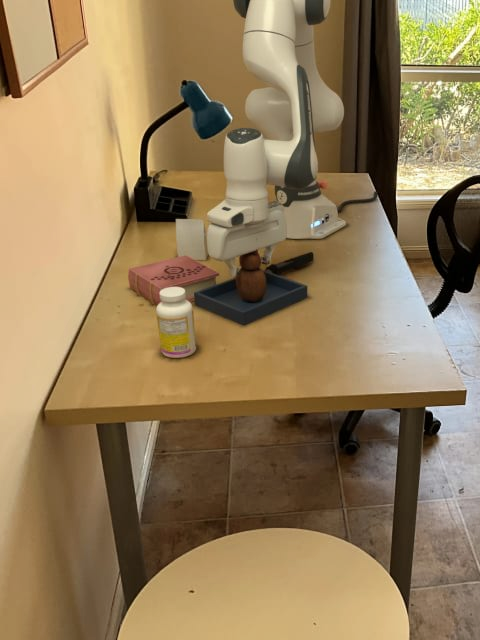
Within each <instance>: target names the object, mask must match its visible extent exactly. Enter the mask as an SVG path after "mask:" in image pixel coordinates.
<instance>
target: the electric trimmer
mask: <svg viewBox="0 0 480 640" xmlns="http://www.w3.org/2000/svg"><path fill="white" fill-rule="evenodd" d="M314 257H315V255H314V252H313V251H309V252H306V253H303V254H300V255H298V256H294V257H291V258H289V259H285V260H283V261H280V262H277V263H270V264H269V265H268V266H266V267H265V269H264V270H265V271H267V272H270V273H273V274H276V275H279V276H281V275H282V274H284V273H287V272H291V271H292V270H299V269H301V268H303V267H305V266H306V265H308V264H311V263H312V262H314V259H315V258H314Z"/></svg>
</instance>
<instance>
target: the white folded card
mask: <svg viewBox="0 0 480 640" xmlns="http://www.w3.org/2000/svg"><path fill="white" fill-rule="evenodd" d="M175 240H176V251H177V257H180V256H184V255H187V256H189V257H191V258H193V259H194V260H196V261H206V260H207V258H208V257H209V254H208V247H207V231H206V225H205V219H203V218H202V219H198V218H195V219H194V218H189V219H188V218H175Z"/></svg>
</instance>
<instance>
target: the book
mask: <svg viewBox="0 0 480 640" xmlns="http://www.w3.org/2000/svg"><path fill="white" fill-rule="evenodd" d="M217 277H220V272H219V271H217V270H215V269H213V268H212V267H209V266H207V265H206V264H204V263H201V262H200V261H199V260H194V259H193V258H191V257H189V256H187V255H184V256H180V257H178V256H176V257H172V258H168V259H164V260H159V261H156V262H151V263H147V264H143V265H138V266H134V267H130V268H128V273H127V279H128V284H129V287H130V289H131V290H132V291H133V292H135V293H137V295H138V296H142V298H144V299H146V300H147V301H150V302H151V304H152V305H155V306H156V307H157V306H158V304H159V303H161V302H162V301H161V299H160V291H161V290H162V289H164V288H168V287H181V288H183V289H185V292H186V298H185V300H187V301H189V302H190V303H192V302H195V300H194V293H195V292H197V291H200V290H203V289H206V288H208V287H211V286H214V285H216V284H217V281H216V279H217Z"/></svg>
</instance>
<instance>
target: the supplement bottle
mask: <svg viewBox="0 0 480 640" xmlns="http://www.w3.org/2000/svg"><path fill="white" fill-rule="evenodd" d="M185 298H186V292H185V289H183V288H181V287H168V288H164V289H162V290H161V291H160V299H161V301H162V302H161V303H159V304H158V306H157V305H156V309H155V313H156V321H157V328H158V329H157V330H158V338H159V342H160V343H159V344H160V350H161V353H162V355H163V356H165V357H167V358H169V359H184V358H186V357H189V356H191V355H193V354H195V352H196V351H197V339H196V330H195V328H196V327H195V320H194V319H195V318H194V309H193V305H192V302H189V301H187V300H185Z"/></svg>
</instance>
